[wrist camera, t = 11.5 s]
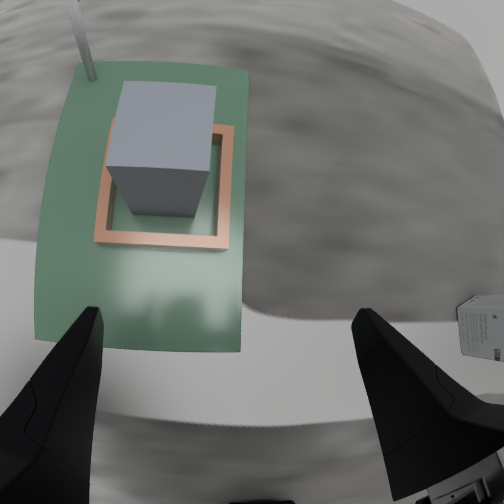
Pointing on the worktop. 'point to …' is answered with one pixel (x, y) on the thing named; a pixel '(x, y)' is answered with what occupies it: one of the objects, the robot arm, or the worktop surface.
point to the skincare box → (482, 327)
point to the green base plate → (141, 222)
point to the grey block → (162, 146)
